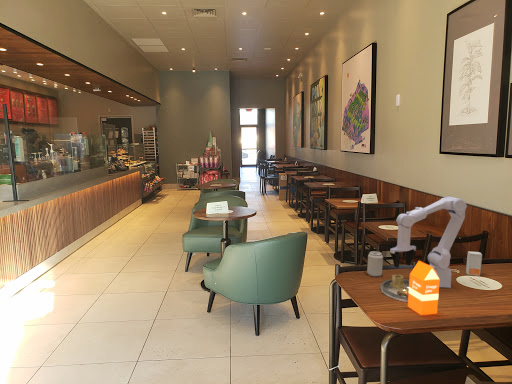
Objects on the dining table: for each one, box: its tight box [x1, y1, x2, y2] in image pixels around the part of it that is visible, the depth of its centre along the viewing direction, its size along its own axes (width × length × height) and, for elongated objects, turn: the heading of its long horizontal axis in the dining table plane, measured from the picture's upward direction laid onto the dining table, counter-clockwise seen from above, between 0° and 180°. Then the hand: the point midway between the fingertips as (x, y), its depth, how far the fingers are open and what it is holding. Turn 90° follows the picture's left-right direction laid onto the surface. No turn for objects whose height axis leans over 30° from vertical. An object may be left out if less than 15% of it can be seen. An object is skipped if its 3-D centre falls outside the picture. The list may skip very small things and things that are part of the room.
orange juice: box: [407, 260, 440, 316], centre depth 157 cm, size 8×9×20 cm
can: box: [366, 250, 384, 277], centre depth 199 cm, size 8×8×12 cm
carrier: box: [380, 278, 410, 303], centre depth 176 cm, size 24×24×4 cm
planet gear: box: [390, 273, 405, 288], centre depth 182 cm, size 6×6×5 cm
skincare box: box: [465, 251, 483, 277], centre depth 202 cm, size 6×4×12 cm
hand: (402, 265), depth 184 cm, fingers open, 7 cm apart
